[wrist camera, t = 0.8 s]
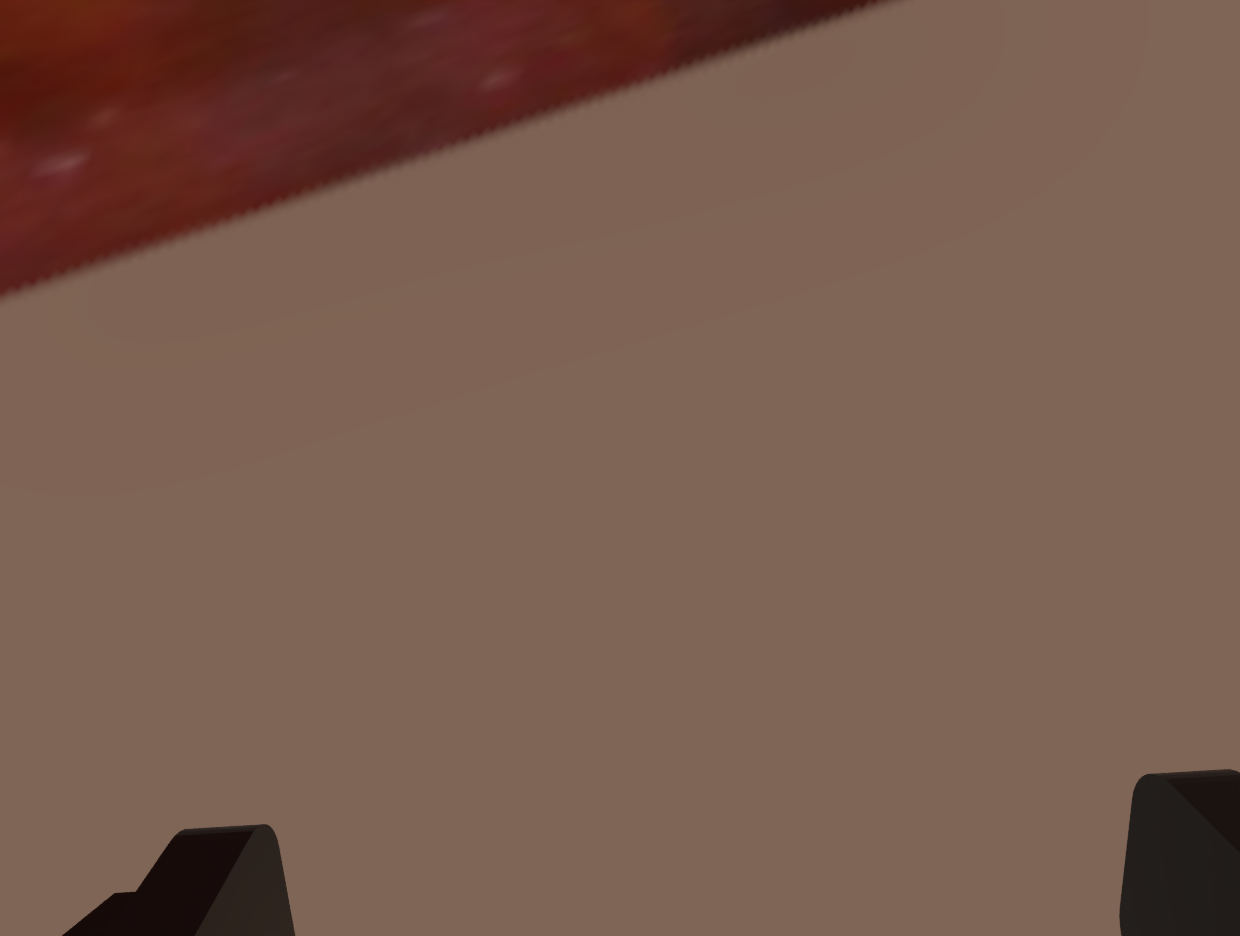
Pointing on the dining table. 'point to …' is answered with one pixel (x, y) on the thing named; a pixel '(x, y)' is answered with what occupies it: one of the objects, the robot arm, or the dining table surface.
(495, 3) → the dining table surface
